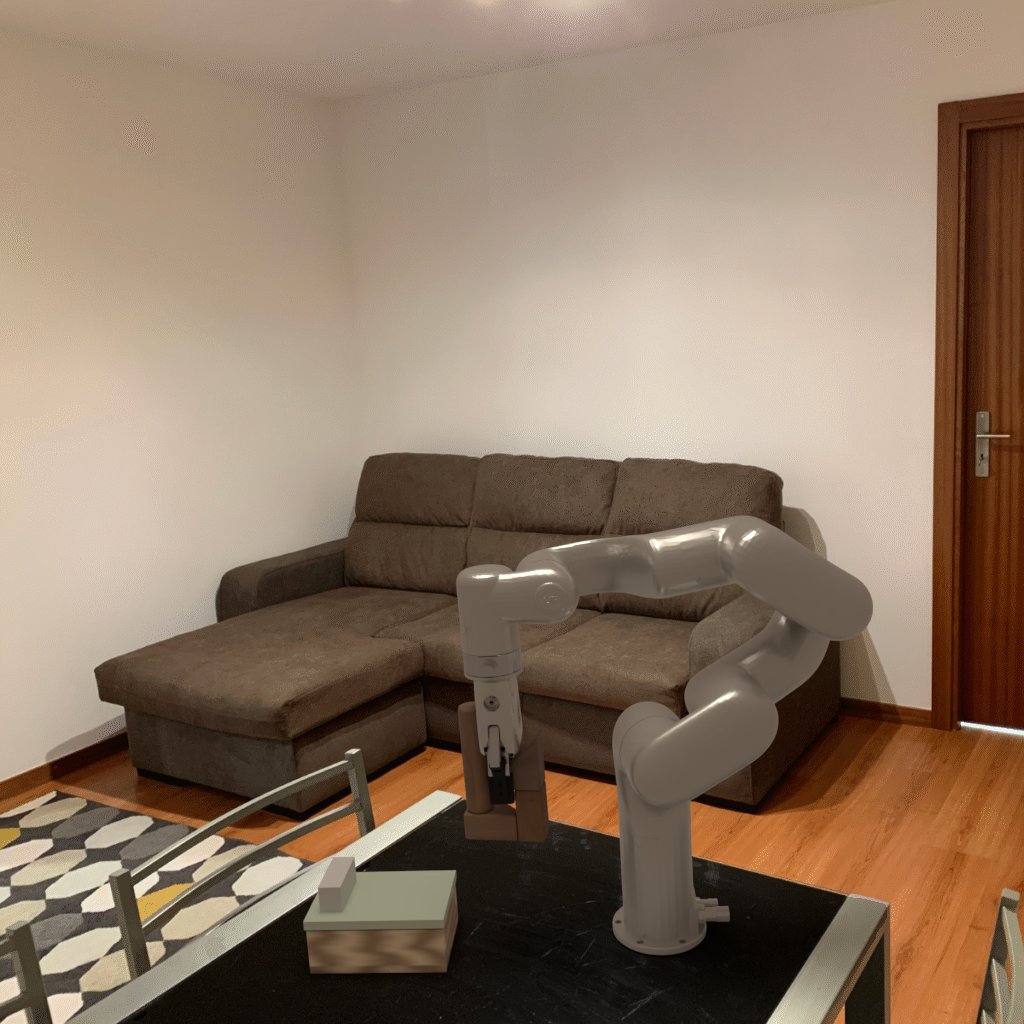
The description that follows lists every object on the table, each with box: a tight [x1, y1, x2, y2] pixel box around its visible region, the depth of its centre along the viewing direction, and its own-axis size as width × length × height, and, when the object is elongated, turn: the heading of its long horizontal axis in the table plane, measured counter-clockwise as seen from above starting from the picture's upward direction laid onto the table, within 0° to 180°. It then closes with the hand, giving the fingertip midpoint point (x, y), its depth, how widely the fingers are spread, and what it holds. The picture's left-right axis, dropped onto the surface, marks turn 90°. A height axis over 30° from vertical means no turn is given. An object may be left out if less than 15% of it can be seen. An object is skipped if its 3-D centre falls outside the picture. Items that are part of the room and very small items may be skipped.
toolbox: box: [305, 883, 459, 975], centre depth 137 cm, size 18×12×6 cm, turn 85°
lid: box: [302, 856, 458, 931], centre depth 137 cm, size 18×12×5 cm
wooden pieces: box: [457, 700, 550, 843], centre depth 133 cm, size 4×11×18 cm, turn 77°
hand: (504, 793), depth 133 cm, fingers closed on wooden pieces, 4 cm apart
